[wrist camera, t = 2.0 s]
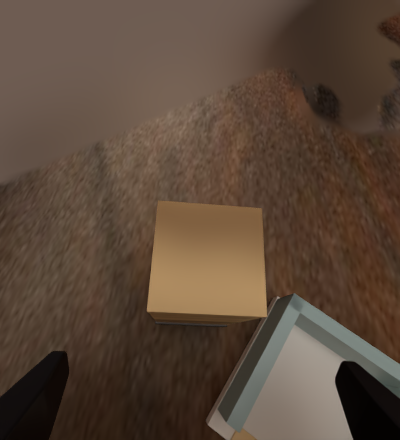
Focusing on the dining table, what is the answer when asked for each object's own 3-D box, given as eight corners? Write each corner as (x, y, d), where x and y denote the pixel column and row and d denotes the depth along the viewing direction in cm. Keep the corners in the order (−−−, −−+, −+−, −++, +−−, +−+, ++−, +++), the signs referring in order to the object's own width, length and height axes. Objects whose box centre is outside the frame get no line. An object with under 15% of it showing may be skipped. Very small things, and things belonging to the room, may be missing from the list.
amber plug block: (223, 326, 20) (269, 319, 11) (156, 324, 20) (143, 314, 10) (224, 261, 22) (263, 206, 13) (162, 257, 21) (156, 198, 12)
